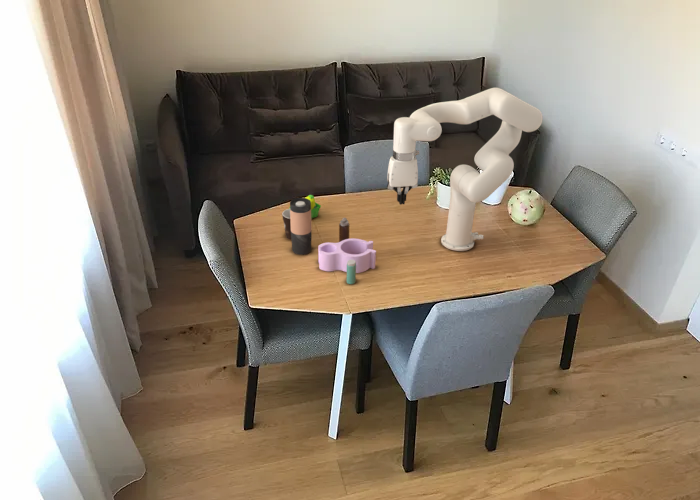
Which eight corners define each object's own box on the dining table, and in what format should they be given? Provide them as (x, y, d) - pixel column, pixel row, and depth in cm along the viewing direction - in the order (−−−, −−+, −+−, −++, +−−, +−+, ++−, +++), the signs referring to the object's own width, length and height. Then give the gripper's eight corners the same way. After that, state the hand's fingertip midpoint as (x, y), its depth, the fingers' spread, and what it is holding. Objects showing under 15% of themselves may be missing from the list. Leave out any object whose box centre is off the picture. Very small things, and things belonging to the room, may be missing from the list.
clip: (320, 274, 207) (320, 258, 203) (317, 256, 217) (317, 240, 214) (376, 272, 209) (377, 255, 205) (371, 253, 219) (371, 237, 216)
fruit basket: (310, 210, 248) (309, 185, 243) (323, 217, 243) (323, 192, 237) (288, 218, 242) (287, 193, 236) (302, 226, 236) (301, 201, 230)
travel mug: (315, 247, 222) (314, 200, 212) (305, 257, 217) (304, 208, 206) (297, 242, 225) (296, 195, 215) (287, 252, 219) (285, 204, 209)
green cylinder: (355, 278, 205) (355, 258, 201) (356, 284, 202) (356, 264, 198) (345, 279, 205) (346, 259, 200) (346, 284, 202) (347, 264, 198)
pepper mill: (348, 244, 225) (349, 215, 218) (349, 249, 222) (350, 220, 215) (338, 245, 224) (338, 215, 218) (339, 250, 221) (339, 220, 215)
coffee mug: (301, 242, 225) (301, 219, 220) (280, 240, 227) (279, 217, 221) (309, 228, 235) (309, 206, 230) (288, 225, 236) (288, 203, 231)
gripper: (422, 149, 204) (419, 196, 213) (380, 151, 202) (378, 199, 211) (428, 157, 197) (424, 206, 207) (384, 160, 195) (382, 209, 205)
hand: (401, 202), depth 209 cm, fingers closed
